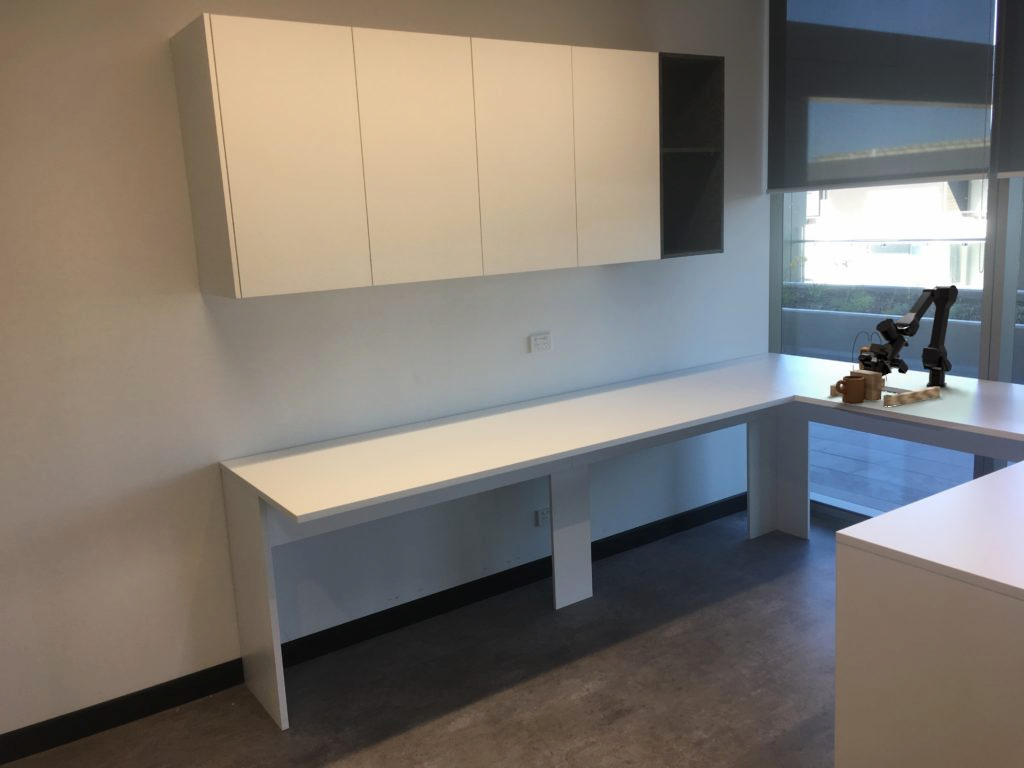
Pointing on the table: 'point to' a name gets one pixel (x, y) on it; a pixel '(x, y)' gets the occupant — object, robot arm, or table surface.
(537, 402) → the table surface
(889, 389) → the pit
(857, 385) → the mug
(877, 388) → the wooden block
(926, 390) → the channel
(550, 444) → the table surface
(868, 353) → the multimeter
